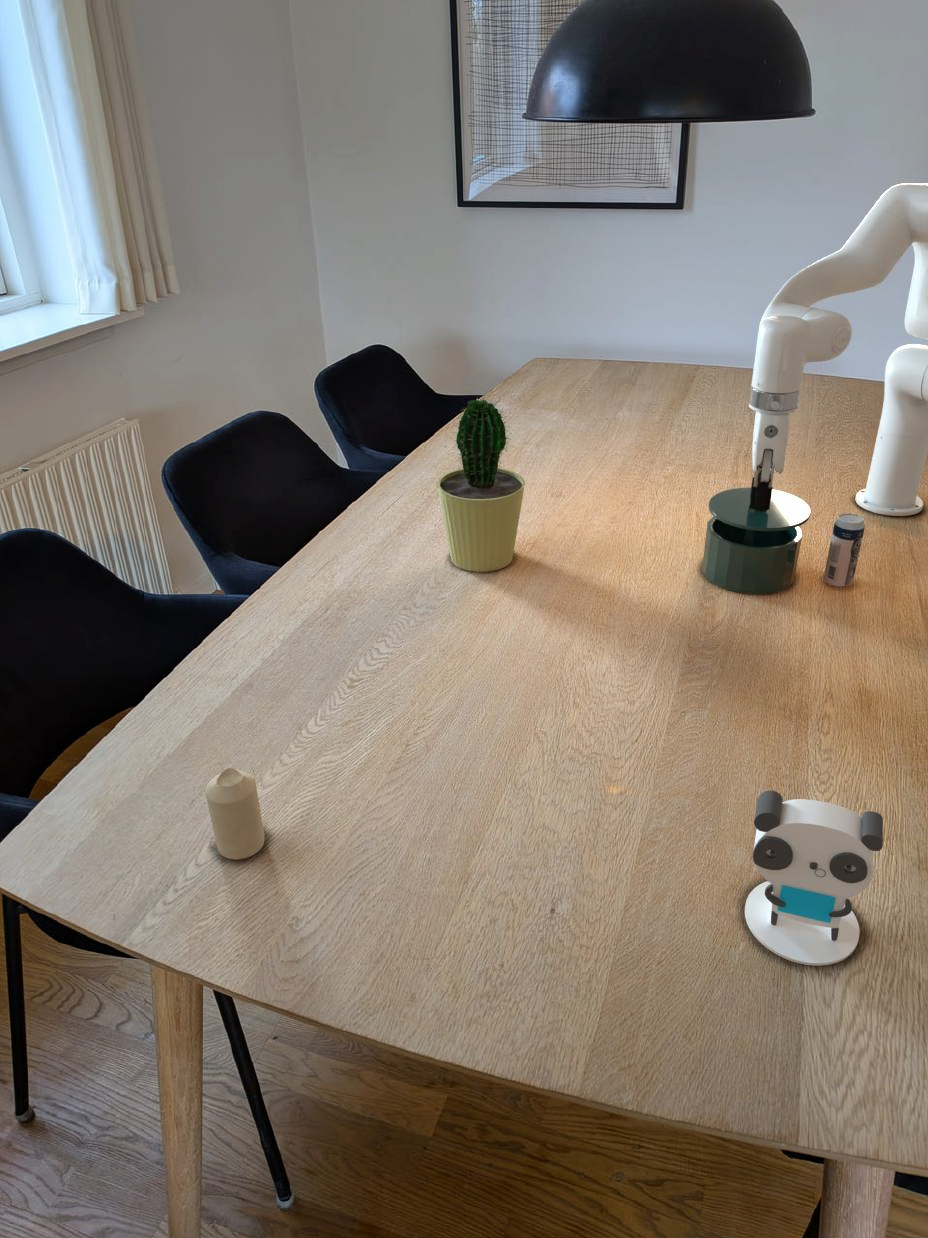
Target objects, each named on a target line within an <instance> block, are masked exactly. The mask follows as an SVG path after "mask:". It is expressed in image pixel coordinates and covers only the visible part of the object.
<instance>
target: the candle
mask: <svg viewBox="0 0 928 1238" xmlns="http://www.w3.org/2000/svg"><path fill="white" fill-rule="evenodd" d="M256 782H257V781H256V780H255V777H254V776H253V775H252V774H250V773H248V772H245V771H242V770H239V769H237V768H233V767H228V768H226V769H224V770H223V771H221V772H220V773H218V774H216V776H214V777H212V779H211V780H210V781H209V782H208V783H207V784H206V787H205V797H206V802H207V807H208V812H209V816H210V817H209V818H210V821H211V826H212V831H213V837H214V841H215V845H216V849H217V852H218V853H219V854H220V856H222V857H224V858H225V859H228V860H237V861H238V860H244V859H247V858H250V857H252V856H254V855H256V854H257V853H258V852H259V851H261V849H262V848H263V846H264V844H265V831H264V830H265V829H264V824H263V818H262V812H261V806H260V799H259V794H258V789H257V783H256Z"/></svg>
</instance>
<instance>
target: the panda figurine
mask: <svg viewBox="0 0 928 1238" xmlns="http://www.w3.org/2000/svg"><path fill="white" fill-rule="evenodd" d="M753 825H754V827H755V828H756V831H755V838H754V844H753V850H752V860H753V863H754V865H755V867H756V869H757V870H758V872H759V874H760V875H761V877H763V878H764V879H765V880H766V881H764V882H762V883H760V884H758V885H757V886H756V887H754V888H753V889H752V890H751V892H749V894H748V896H747V898H746V901H745V905H744V917H745V922H746V924H747V926H748V928H749V931H750V932H751V933H752V935H753V937H754V938H755V939H756V940H757V941H758V942H759V943H760V944H761V945H762V946H763V947H765V948H766V949H767V950H768V951H770V952H772V953H773V954H775V955H776V956H779V957H780V958H783V959H785V960H787V961H790V962H793V963H796V964H800V965H804V966H805V965H806V966H817V967H822V966H829V965H833V964H834V965H835V964H837V963H840V962H842V961H844V960H846V959H847V958H848V957H850V956H851V955H852V954H853V952H854V951H855V950H856V948H857V946H858V943H859V939H860V926H859V925H860V924H859V921H858V919H857V917H856V915H855V913H854V911H853V909H852V908H853V906H852V902H851V900H850V899H851V898H854V897H856V896H858V895H859V894H861V893H863V892H864V891H865V890H866V889H867V888H868V887H869V885H870V884H871V882H872V879H873V877H874V876H873V875H874V852H880V851H882V849H883V846H884V818H883V816H882V815H881V814H880V813H879V812H876V811H869V810H868V811H865V812H862V814H861V815H860V814H858V813H857V812H855V811H853V810H851V809H849V808H846V807H844V806H841V805H838V804H835V803H830V802H827V801H823V800H815V799H807V798H806V799H805V798H796V799H794V798H793V799H789V800H785V801H784V798H783V796H782V795H781V794H780V793H779V792H778V791H776V790H765V791H763V792H762V793H760V795H759V796H758V797H757V802H756V807H755V813H754V819H753Z"/></svg>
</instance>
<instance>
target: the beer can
mask: <svg viewBox="0 0 928 1238" xmlns="http://www.w3.org/2000/svg"><path fill="white" fill-rule="evenodd" d="M865 529H866V524H865V520H864V518H863V517H862V516H860V515H858V514H854V513H850V512H849V513H841V514H839V515H838V516H837V518H836V519H835V520H834V523H833V529H832V534H831V538H830V544H829V548H828V554H827V559H826V563H825V568H824V572H823V580H824V581H825V582H826V583H827V584H828V585H830V586H832V587H835V588H845V587H849V586H851V585H853V583H854V579H855V576H856V575H855V574H856V570H857V565H858V561H859V558H860V557H859V556H860V552H861V547H862V543H863V539H864V534H865Z"/></svg>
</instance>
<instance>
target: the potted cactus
mask: <svg viewBox="0 0 928 1238" xmlns="http://www.w3.org/2000/svg"><path fill="white" fill-rule="evenodd" d="M478 397H479V394H477V397H476V398H475V399H473V400H471V401H467V406H466V407H465V406H464V407H461V408H459V410H460V411H461V412H460V411H459V413H460V417H458V421H459V423H458V422H457V424H455V427H457V432H455V431H453V432H451V434H453V436H456V438H455V439H454V442H455V443H454V444H455V445H454V447H456V446H457V447H456V449H458V450H459V454H458V456H457V458H458V459H457V458H456V461H457V462H459V461H461V464H462V467H461V468H460V467H459V468H457V469H454V470H451V471H449V472H446V473H444V474H442V476H440V477H439V478H438V479H437V482H436V487H437V489H438V495H439V502H440V506H441V511H442V517H443V521H444V527H445V533H446V537H447V544H448V549H449V555H450V559H451V562H452V563H453V565H455V566H456V567H458V568H460V569H462V570H464V571H469V572H477V573H486V572H494V571H499V570H501V569H503V568H505V567H507V566H508V565H510V563H511V562H512V561H513V557H514V553H515V552H514V551H515V547H516V539H517V534H518V527H519V522H520V515H521V510H522V505H523V498H524V492H525V486H526V484H525V483H526V481H525V479H524V477H523V476H522V475H520V474H519V473H516V472H515V471H512V470H510V469H506V468H502V467H501V465H500V464H503V463H504V462H502V460H500V459H501V456H502V455H504V451H507V448H509V446H508V444H509V445H511V443H510V442H509V441H508V440H510V438H509V437H510V436H511V433H509V434H507V432H509V430H507V428H509V427H508V426H505V424H506V423H507V421H504V420H505V418H507V417H509V415H504V414H503V411H504V410H503V409H498V405H497V401H495V397H494V399H493V401H488V400H486V399H484V398H483V399H479V398H478ZM462 412H463V414H462ZM459 419H460V420H459ZM499 463H500V464H499Z"/></svg>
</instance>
